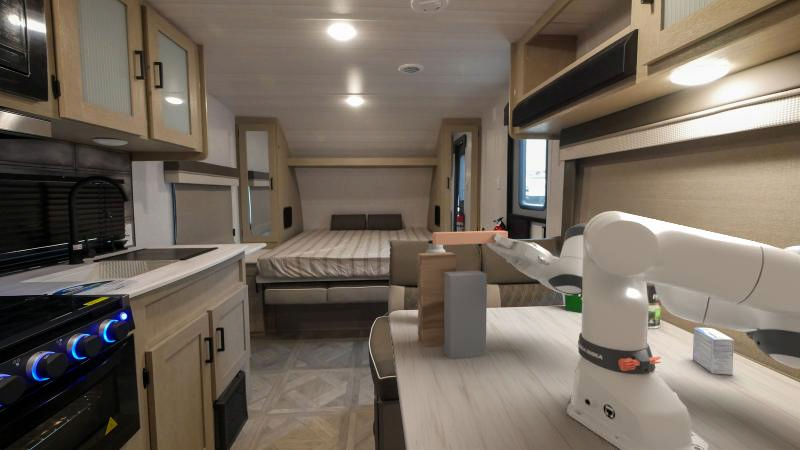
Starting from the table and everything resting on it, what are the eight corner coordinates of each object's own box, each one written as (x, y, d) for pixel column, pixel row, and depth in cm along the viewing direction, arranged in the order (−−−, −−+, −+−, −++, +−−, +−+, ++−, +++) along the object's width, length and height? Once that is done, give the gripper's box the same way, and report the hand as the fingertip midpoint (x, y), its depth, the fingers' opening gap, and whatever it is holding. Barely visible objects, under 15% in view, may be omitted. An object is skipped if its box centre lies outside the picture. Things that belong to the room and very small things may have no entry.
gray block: (486, 355, 97) (486, 274, 95) (450, 359, 95) (450, 276, 93) (478, 348, 102) (478, 270, 100) (444, 351, 100) (444, 272, 98)
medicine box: (733, 375, 85) (735, 339, 84) (711, 374, 86) (713, 338, 85) (711, 361, 93) (713, 327, 92) (691, 359, 94) (693, 326, 93)
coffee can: (664, 323, 120) (665, 281, 119) (655, 331, 113) (656, 287, 112) (628, 316, 128) (630, 276, 127) (618, 323, 121) (619, 281, 120)
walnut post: (456, 344, 105) (456, 254, 103) (422, 347, 102) (422, 256, 101) (450, 337, 109) (450, 252, 108) (418, 340, 107) (417, 253, 106)
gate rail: (507, 242, 97) (507, 231, 97) (436, 245, 93) (436, 233, 93) (502, 241, 100) (502, 230, 100) (432, 243, 96) (432, 232, 96)
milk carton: (589, 314, 130) (590, 259, 128) (562, 310, 135) (563, 257, 134) (593, 308, 137) (594, 256, 136) (567, 304, 142) (568, 254, 141)
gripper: (547, 276, 90) (503, 250, 87) (507, 262, 110) (470, 241, 107) (559, 254, 90) (515, 227, 87) (516, 244, 110) (480, 222, 107)
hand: (490, 235), depth 97 cm, fingers closed on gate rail, 3 cm apart
